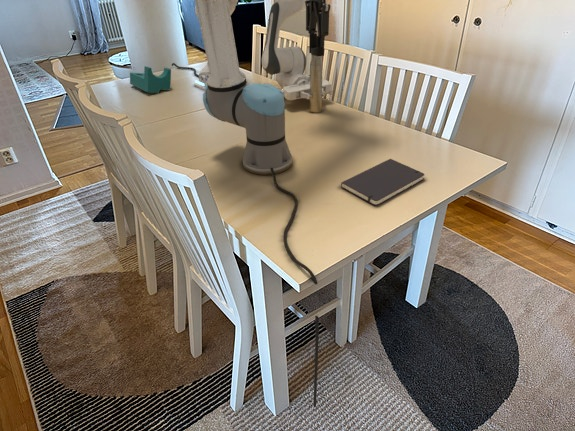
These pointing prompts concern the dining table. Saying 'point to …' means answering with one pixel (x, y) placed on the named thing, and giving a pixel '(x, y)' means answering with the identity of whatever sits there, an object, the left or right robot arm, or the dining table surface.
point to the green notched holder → (151, 80)
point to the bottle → (316, 84)
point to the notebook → (382, 181)
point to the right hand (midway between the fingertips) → (316, 54)
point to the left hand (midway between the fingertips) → (317, 95)
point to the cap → (314, 50)
